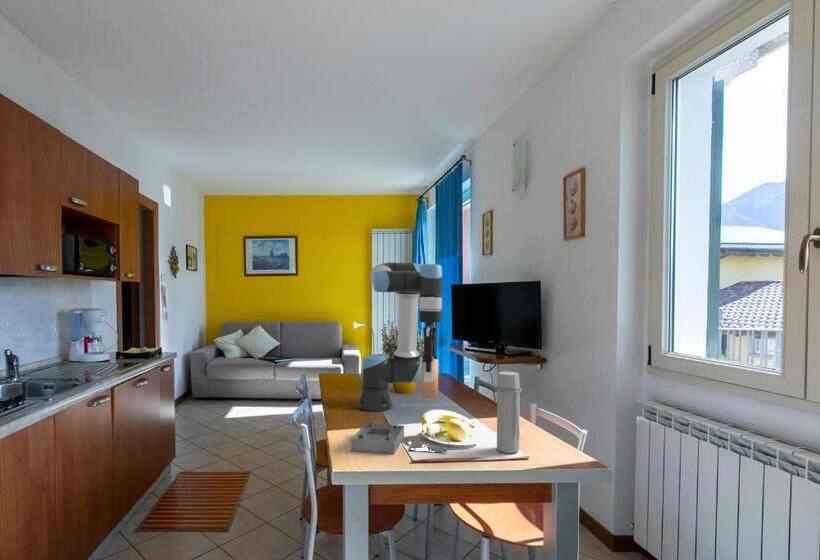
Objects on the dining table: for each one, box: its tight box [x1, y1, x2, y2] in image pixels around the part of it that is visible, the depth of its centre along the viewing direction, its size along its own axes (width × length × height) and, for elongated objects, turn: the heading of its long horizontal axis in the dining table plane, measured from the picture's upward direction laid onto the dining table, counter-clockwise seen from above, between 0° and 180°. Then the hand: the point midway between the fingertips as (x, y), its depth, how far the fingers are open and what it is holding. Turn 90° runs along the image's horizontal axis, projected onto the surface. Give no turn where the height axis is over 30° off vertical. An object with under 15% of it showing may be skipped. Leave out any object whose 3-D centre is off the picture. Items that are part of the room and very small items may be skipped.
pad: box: [408, 438, 448, 452], centre depth 152 cm, size 12×12×1 cm
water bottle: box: [496, 371, 523, 454], centre depth 148 cm, size 9×8×25 cm
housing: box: [350, 423, 405, 455], centre depth 154 cm, size 18×14×5 cm
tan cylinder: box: [420, 357, 439, 399], centre depth 153 cm, size 6×6×13 cm
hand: (429, 379), depth 153 cm, fingers closed on tan cylinder, 6 cm apart
